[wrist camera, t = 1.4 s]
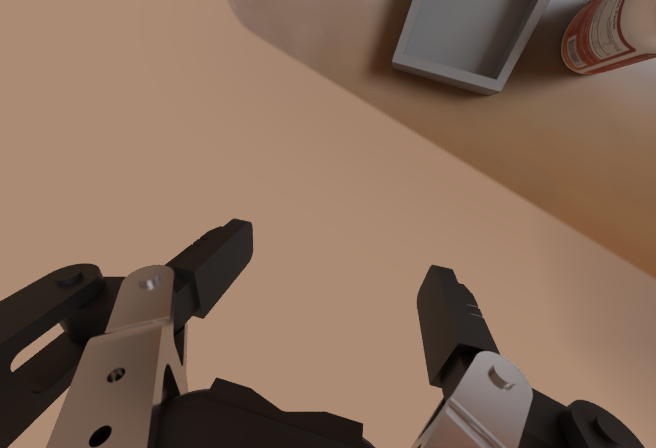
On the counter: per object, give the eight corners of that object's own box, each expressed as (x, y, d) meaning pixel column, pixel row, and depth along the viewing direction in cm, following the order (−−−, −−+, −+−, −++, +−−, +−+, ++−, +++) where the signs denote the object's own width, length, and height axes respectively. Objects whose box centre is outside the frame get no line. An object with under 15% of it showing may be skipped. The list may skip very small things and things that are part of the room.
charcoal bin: (438, -62, 22) (443, -93, 19) (559, -39, 20) (587, -69, 17) (393, 69, 27) (391, 61, 23) (488, 96, 25) (500, 91, 22)
